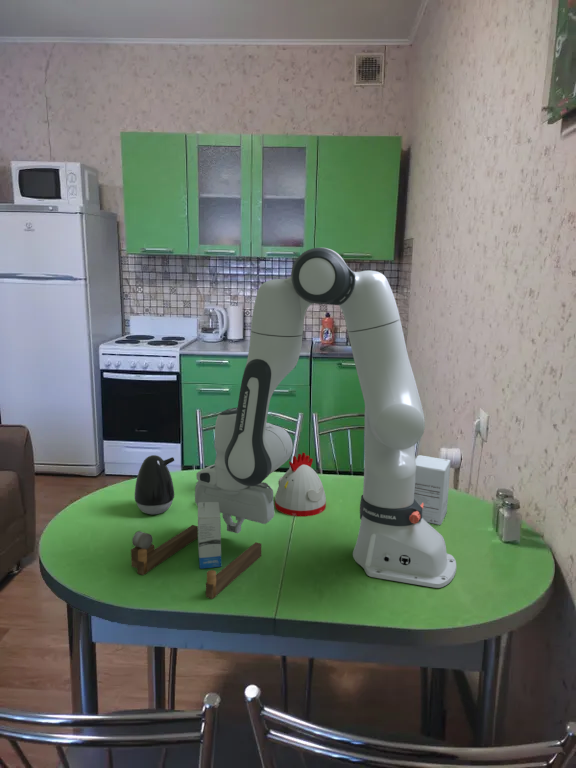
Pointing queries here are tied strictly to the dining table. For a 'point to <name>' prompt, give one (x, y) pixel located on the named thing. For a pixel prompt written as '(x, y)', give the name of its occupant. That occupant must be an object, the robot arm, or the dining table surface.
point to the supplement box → (432, 487)
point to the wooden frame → (150, 557)
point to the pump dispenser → (154, 486)
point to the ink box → (209, 535)
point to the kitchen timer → (300, 489)
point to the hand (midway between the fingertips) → (233, 531)
